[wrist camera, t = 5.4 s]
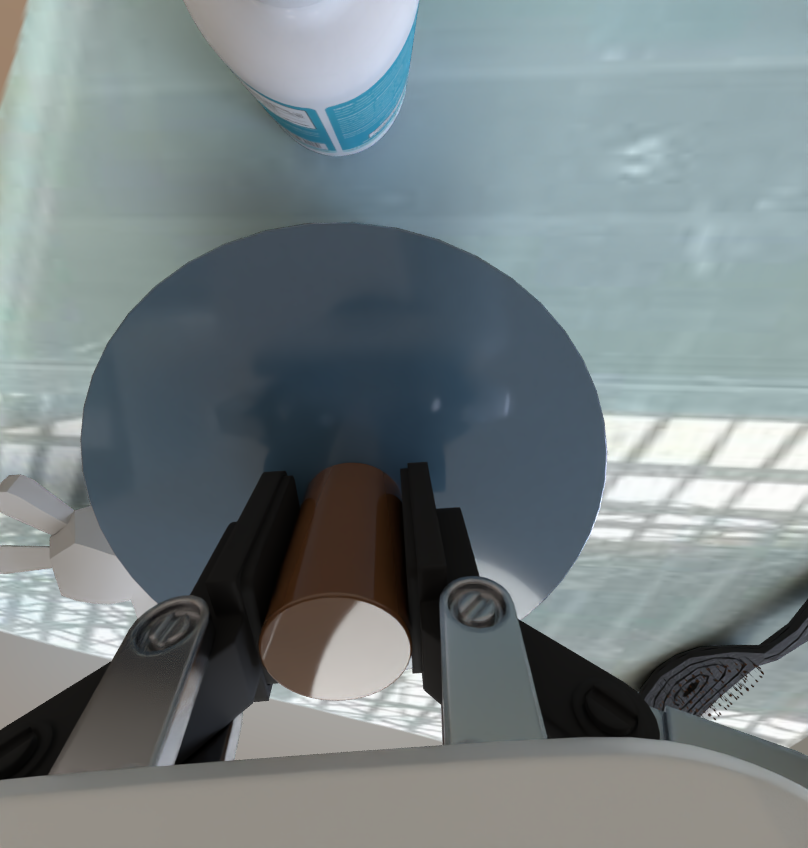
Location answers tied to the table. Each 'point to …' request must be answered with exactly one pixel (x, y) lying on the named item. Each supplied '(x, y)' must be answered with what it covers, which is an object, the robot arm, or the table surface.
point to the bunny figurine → (67, 547)
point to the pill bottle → (317, 63)
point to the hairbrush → (718, 669)
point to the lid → (342, 433)
